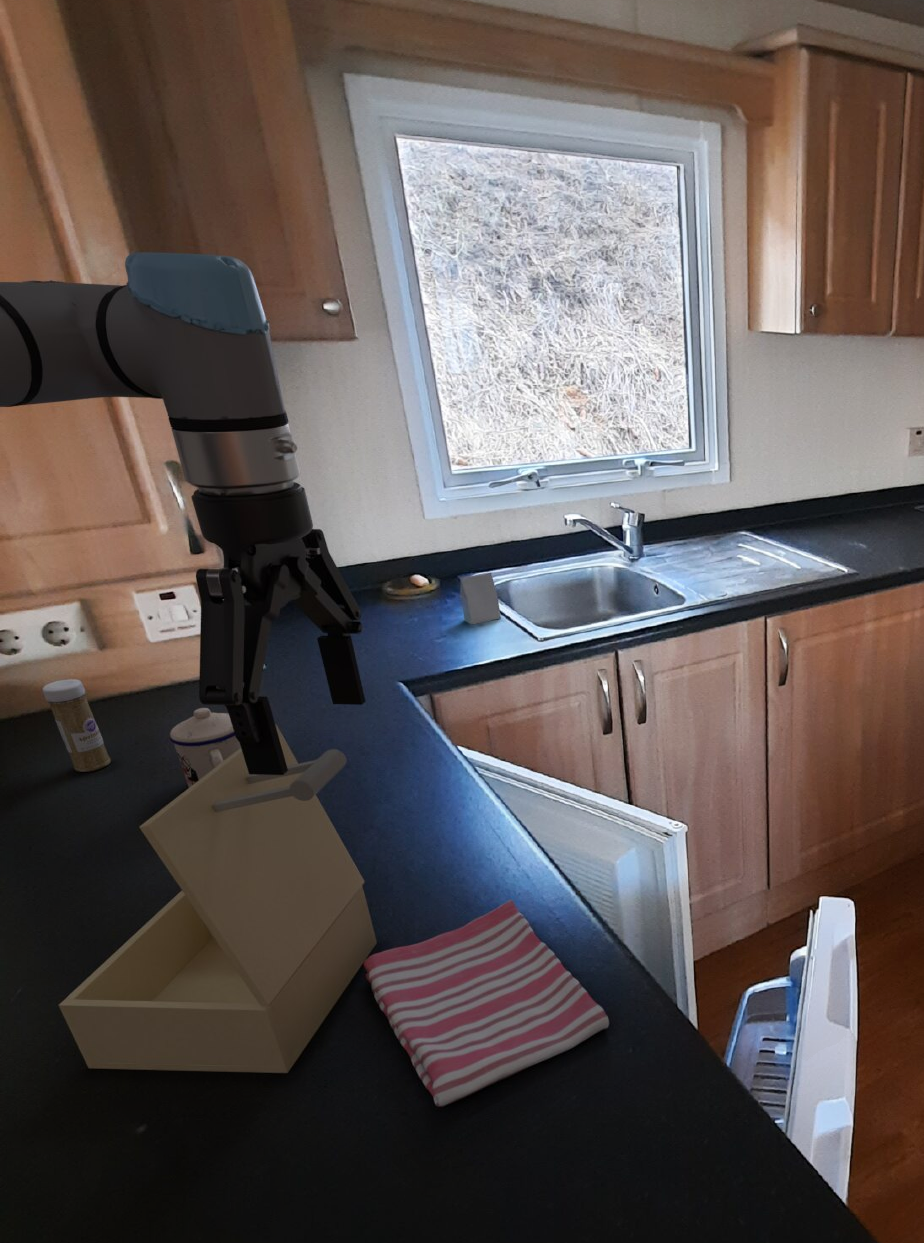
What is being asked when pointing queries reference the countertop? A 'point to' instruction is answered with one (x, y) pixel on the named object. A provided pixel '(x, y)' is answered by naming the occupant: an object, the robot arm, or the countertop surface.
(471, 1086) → the dish towel
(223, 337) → the robot arm
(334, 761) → the bin lid
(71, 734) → the sprinkles bottle
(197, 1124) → the countertop surface
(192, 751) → the teacup with lid
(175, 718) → the countertop surface
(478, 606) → the grey block
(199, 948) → the beige square open box
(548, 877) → the countertop surface
